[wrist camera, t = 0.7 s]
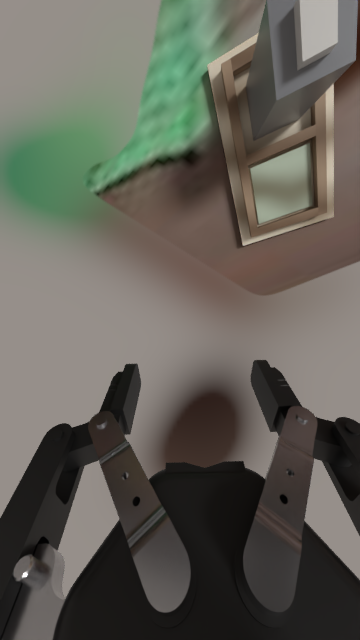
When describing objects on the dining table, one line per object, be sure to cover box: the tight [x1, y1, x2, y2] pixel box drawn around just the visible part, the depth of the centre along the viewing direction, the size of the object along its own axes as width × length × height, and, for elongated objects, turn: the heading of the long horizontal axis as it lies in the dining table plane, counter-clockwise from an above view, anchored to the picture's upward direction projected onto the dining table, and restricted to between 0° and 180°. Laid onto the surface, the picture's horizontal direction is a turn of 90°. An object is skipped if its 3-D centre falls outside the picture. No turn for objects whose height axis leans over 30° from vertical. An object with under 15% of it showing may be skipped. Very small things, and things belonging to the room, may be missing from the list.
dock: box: [207, 34, 334, 246], centre depth 24 cm, size 20×12×2 cm, turn 20°
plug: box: [246, 0, 358, 141], centre depth 17 cm, size 5×5×12 cm
